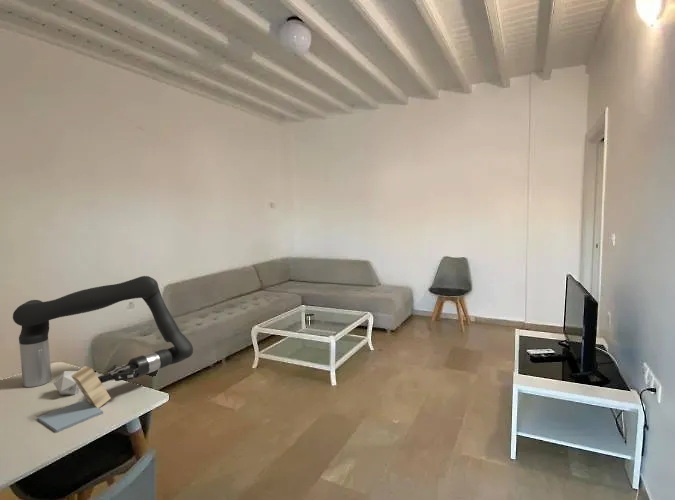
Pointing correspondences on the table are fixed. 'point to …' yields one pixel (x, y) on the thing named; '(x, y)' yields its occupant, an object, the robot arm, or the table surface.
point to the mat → (69, 415)
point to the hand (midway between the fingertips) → (98, 380)
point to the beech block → (91, 386)
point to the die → (66, 383)
